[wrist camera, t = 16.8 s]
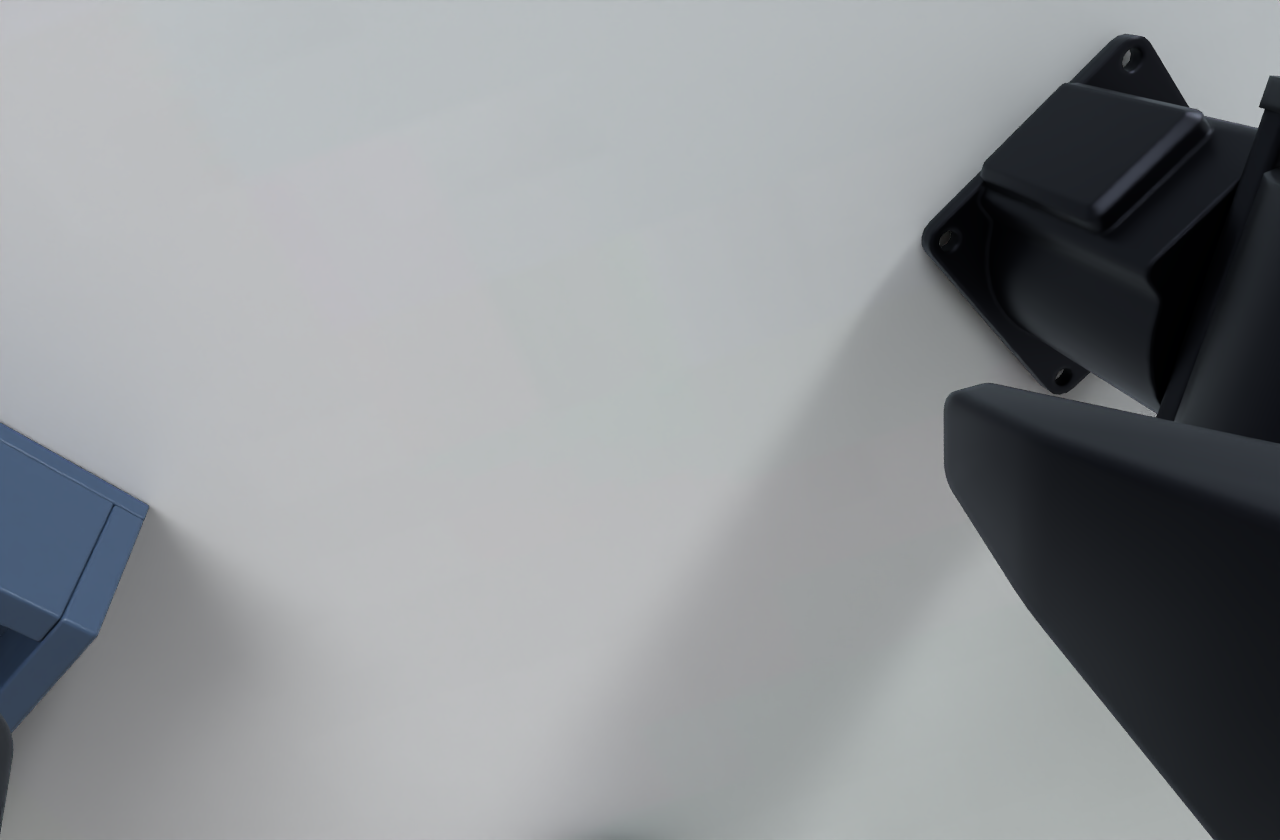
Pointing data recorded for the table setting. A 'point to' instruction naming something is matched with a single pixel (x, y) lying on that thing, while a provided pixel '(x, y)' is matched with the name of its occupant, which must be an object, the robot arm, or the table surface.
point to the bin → (54, 565)
